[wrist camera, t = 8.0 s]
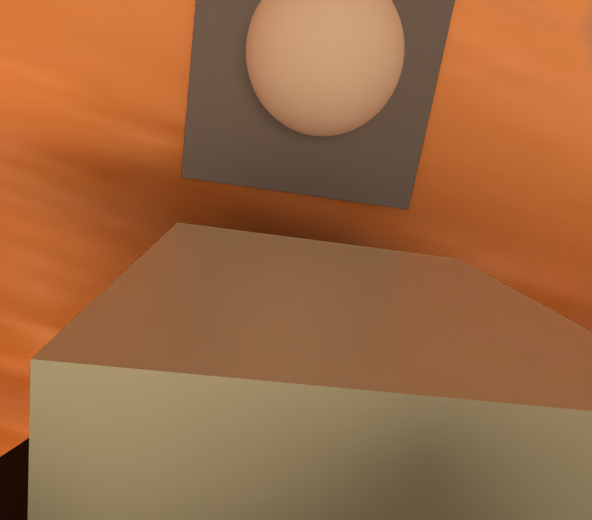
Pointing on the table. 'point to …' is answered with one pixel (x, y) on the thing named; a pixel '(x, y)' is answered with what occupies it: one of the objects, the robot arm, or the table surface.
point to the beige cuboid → (309, 390)
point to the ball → (324, 61)
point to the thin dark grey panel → (296, 146)
